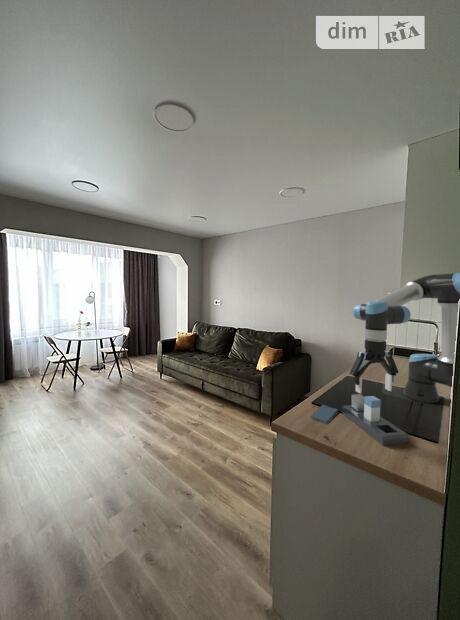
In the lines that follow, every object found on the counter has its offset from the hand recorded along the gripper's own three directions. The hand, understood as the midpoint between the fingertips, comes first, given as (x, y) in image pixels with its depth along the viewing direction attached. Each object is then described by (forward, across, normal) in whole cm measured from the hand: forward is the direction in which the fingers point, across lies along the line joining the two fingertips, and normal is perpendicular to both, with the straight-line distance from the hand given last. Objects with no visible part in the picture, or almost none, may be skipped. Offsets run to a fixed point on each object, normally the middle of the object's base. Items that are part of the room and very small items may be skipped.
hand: (373, 391), depth 101 cm
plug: (+15, +1, 0) cm, 15 cm away
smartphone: (+15, +15, -12) cm, 24 cm away
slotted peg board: (+15, +1, 0) cm, 15 cm away
